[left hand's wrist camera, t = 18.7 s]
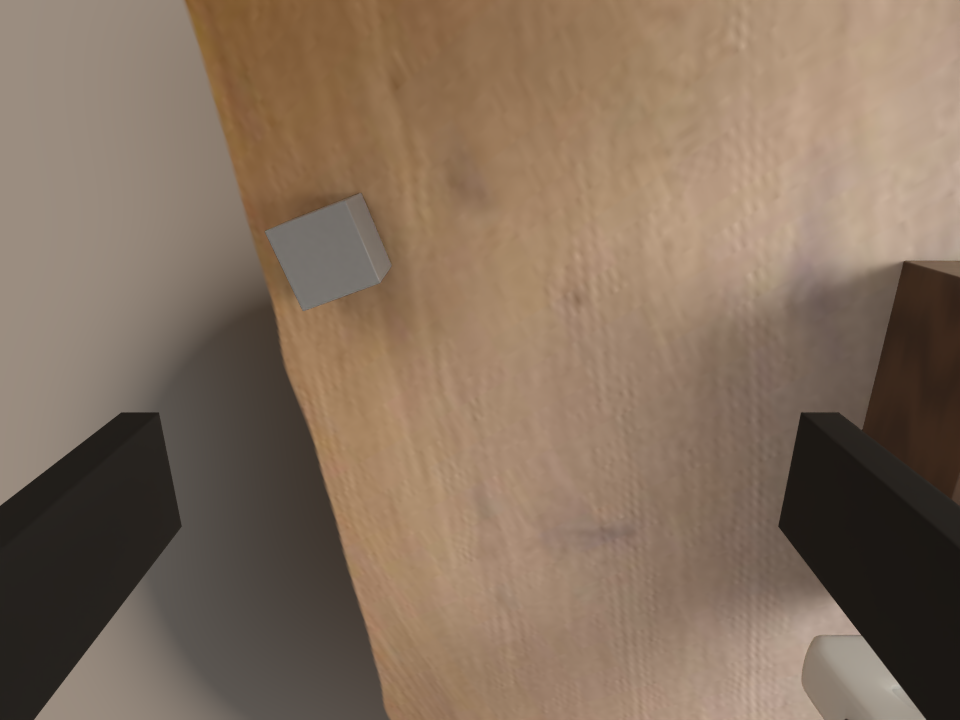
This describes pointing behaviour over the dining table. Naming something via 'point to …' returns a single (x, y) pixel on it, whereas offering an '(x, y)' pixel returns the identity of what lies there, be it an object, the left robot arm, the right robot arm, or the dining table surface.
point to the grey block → (330, 252)
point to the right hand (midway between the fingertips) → (908, 601)
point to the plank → (922, 376)
